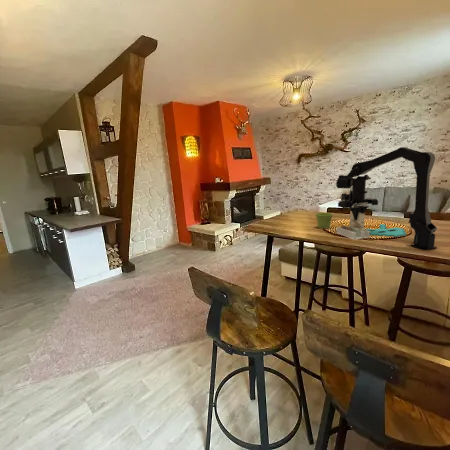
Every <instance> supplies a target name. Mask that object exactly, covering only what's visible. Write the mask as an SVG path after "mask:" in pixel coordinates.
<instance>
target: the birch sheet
mask: <svg viewBox="0 0 450 450" xmlns="http://www.w3.org/2000/svg"><path fill="white" fill-rule="evenodd" d="M349 213H350V215H349V225H350V227H355V228H358V229H360V231H363V232H364V229H365V221H366V219H365V217H366V214H365V212H364V213H358V218H357V220H355V219H354V216H353V214H352V211H351V210H350V212H349Z"/></svg>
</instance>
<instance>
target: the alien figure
mask: <svg viewBox="0 0 450 450" xmlns="http://www.w3.org/2000/svg"><path fill="white" fill-rule="evenodd" d="M378 226H379V228H374V229H373V228H364V230H367V231H370V236H379V237H383V236H385V237H388V238H389V237H394V238H398V237H404V236H405V237H406V236H407V233H406V229H405V228H400V227H391V228H390V227H389V228H387V224H383V223H381V224H379V225H378Z"/></svg>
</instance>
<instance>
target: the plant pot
mask: <svg viewBox="0 0 450 450" xmlns="http://www.w3.org/2000/svg"><path fill="white" fill-rule="evenodd" d="M333 215H334V214H333V213H331V212H318V213H315V217H316V220H317V221H316V222H317V227H318V228H319V229H329V228H330V227H331V222H332V217H333Z"/></svg>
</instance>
